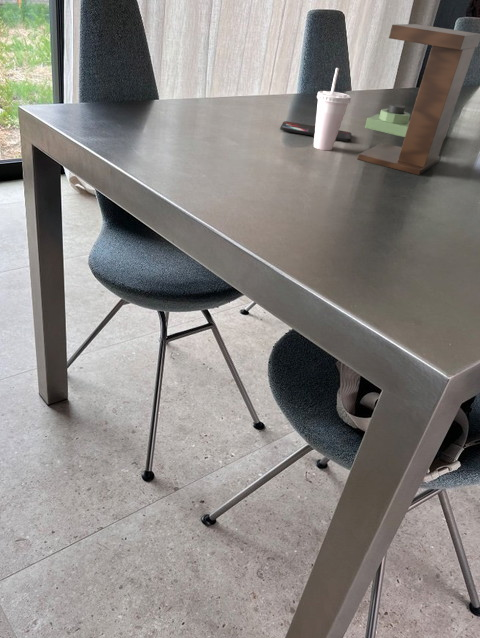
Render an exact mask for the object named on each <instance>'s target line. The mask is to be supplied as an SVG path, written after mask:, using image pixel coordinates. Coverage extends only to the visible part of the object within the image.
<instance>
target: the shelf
mask: <svg viewBox="0 0 480 638" xmlns="http://www.w3.org/2000/svg"><path fill="white" fill-rule="evenodd" d="M390 27H391V28H390V32H389V35H388V39H390V40H397V41H403V42H407V43H408V42H409V43H414V44H421V45H427V46H431V49H430V52H429V55H428V58H427V62H426V65H425V69H424V72H423V75H422V79H421V82H420V85H419V89H418V92H417V96H416V99H415V102H414V105H413V108H412V112H411V114H410V118H409V121H410V122H409V125H408V128H407V132H406V135H405V137H403V143H402V146H399V145H395V144H391V143H385V142H381V143H379V144H376V145H374V146H373V147H370V148H369V149H366V150H364V151H362V152H360V153H359V154H358V155H357V160H359V161H362V162H365V163H366V162H367V163H370V164H374V165H378V166H382V167H385V168H389V169H392V170H393V169H394V170H398V171H402V172H405V173H408V174H413V175H416V176H420V175H422V174H423V173H425V172H426V171H427V170H429V169H430V168H431V167H433V166H434V165H435V164H436V163H437V164H438V162H439V161H440V159H441V156H439V155H440V153H441V150H442V147H443V143H444V140H445V139H446V138H445V135H446V132H447V129H448V126H449V124H451V120H452V117H453V115H454V110H455V108H456V106H457V102H458V100H459V97H460V93H461V91H462V87H463V86H464V81H465V79H466V76H467V73H468V70H469V68H470V64H471V61H472V58H473V55H474V52H475V49H476V48H478V47H479V44H480V33H478V32H477V33H476V32H470V31H464V30H457V29H451V28H444V27H438V26H430V25H424V24H418V23H405V24H404V23H403V24H397V23H395V24H391V26H390Z"/></svg>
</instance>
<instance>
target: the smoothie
mask: <svg viewBox="0 0 480 638" xmlns="http://www.w3.org/2000/svg"><path fill="white" fill-rule="evenodd" d="M339 70H340V68H339V67H335V71H334V75H333V80H332V84H331V90H320V91H319V90H318V92H317V95H316V99H317V106H316V115H315V125H314V126H315V136H313V137H314V138H313V148H315V149H317V150H321V151H332V150H333V148H334V145H335V143H336V140H335V139H336V137H337V134H338V131H339V130H340V127H341V125H342V123H343V120H344V117H345V114H346V112H347V108H348V106H349V104H350V103H351V100H352V96H351V95H350V94H346V93H343V92H339V91H335V88H336V84H337V79H338V76H339Z"/></svg>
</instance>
